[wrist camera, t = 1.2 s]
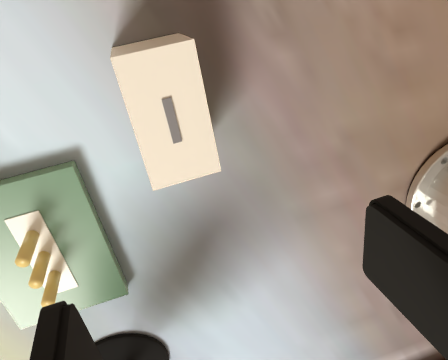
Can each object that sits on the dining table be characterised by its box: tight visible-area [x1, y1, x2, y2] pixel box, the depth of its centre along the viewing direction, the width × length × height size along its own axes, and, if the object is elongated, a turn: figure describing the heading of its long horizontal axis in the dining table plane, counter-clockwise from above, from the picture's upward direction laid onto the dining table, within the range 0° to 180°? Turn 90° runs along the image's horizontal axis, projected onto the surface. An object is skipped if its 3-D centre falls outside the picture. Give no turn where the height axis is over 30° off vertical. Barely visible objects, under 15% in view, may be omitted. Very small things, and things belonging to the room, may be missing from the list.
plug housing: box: [110, 33, 221, 191], centre depth 25 cm, size 5×9×6 cm, turn 10°
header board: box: [0, 161, 128, 330], centre depth 28 cm, size 10×14×5 cm
